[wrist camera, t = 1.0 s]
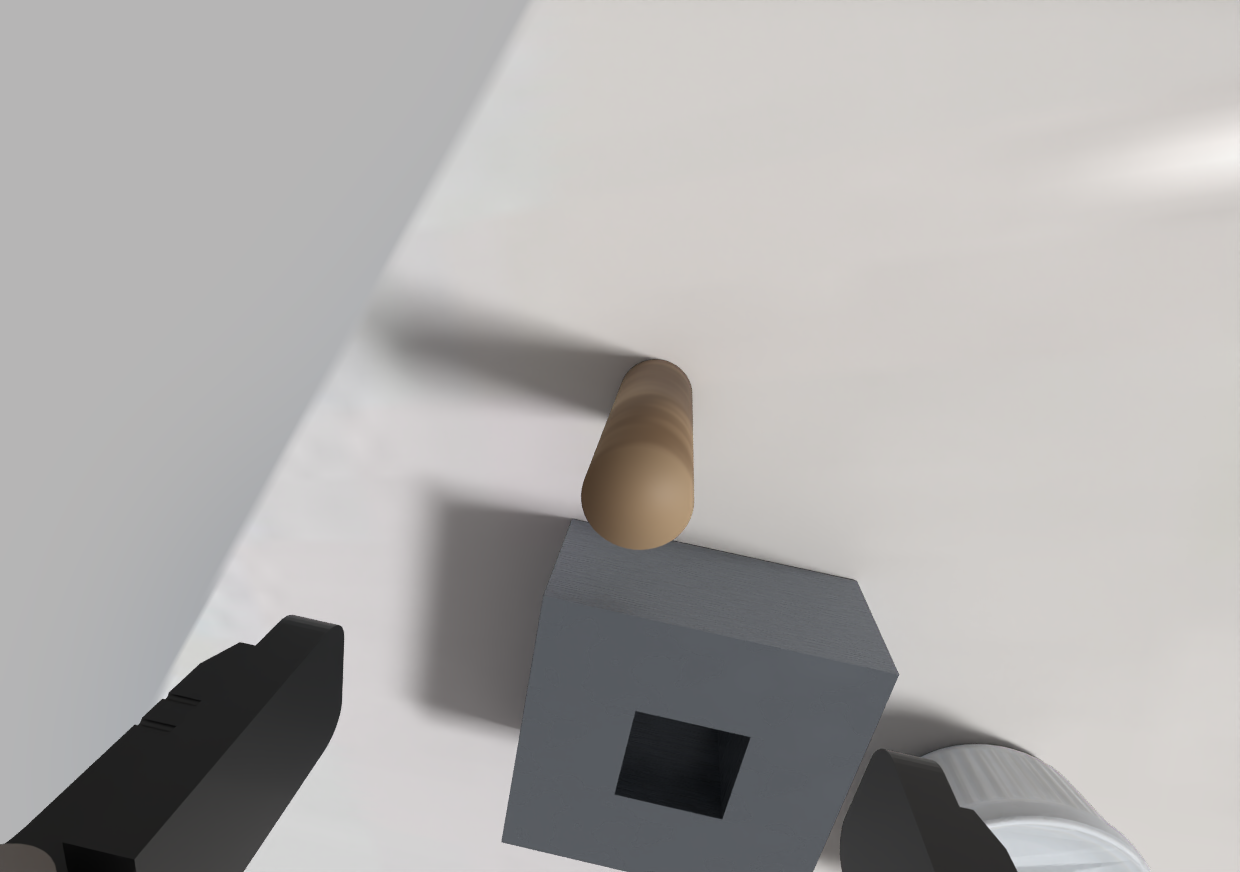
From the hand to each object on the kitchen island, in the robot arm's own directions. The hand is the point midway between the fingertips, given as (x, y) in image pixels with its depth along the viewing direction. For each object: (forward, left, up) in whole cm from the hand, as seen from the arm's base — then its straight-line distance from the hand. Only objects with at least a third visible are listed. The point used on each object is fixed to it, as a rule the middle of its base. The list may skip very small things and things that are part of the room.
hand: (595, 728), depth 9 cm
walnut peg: (0, 0, -18) cm, 18 cm away
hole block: (-4, +13, -18) cm, 22 cm away
